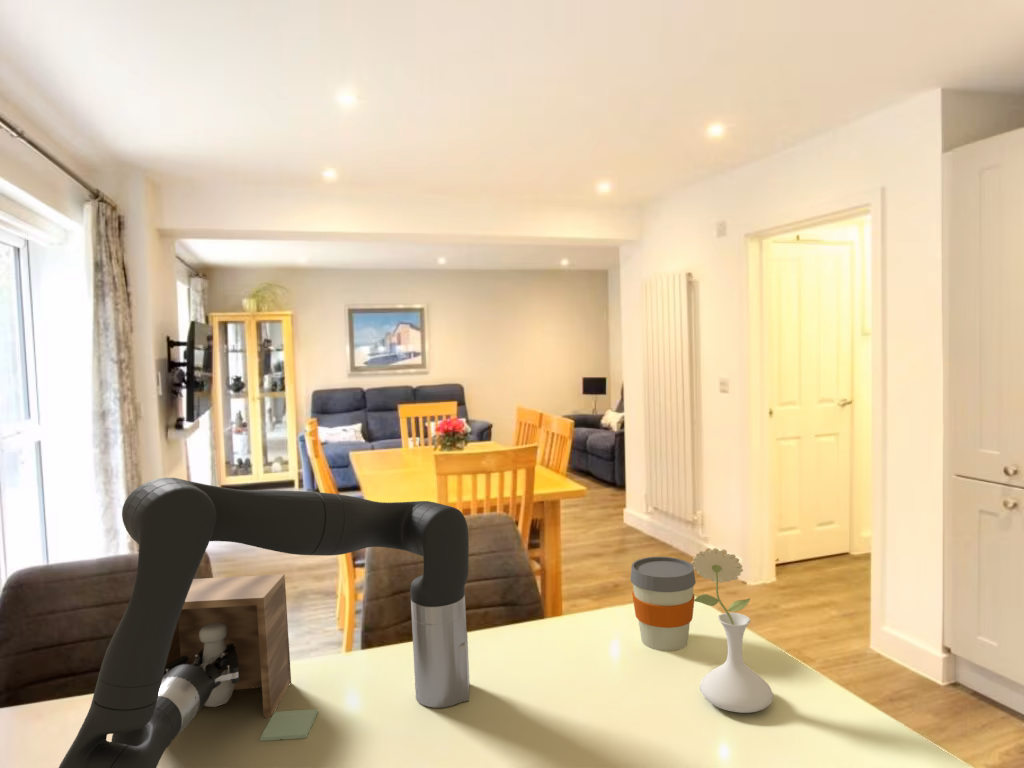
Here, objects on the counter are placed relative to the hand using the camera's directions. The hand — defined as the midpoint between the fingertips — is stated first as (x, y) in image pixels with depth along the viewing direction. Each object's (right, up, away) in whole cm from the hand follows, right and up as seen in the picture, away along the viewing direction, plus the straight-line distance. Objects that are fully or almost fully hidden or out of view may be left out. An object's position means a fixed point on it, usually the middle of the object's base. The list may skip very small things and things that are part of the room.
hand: (221, 649), depth 112 cm
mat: (+15, -9, -8) cm, 19 cm away
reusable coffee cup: (+81, -5, +16) cm, 83 cm away
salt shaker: (+1, -8, -2) cm, 8 cm away
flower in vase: (+87, -6, -5) cm, 87 cm away
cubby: (0, -9, 0) cm, 9 cm away
